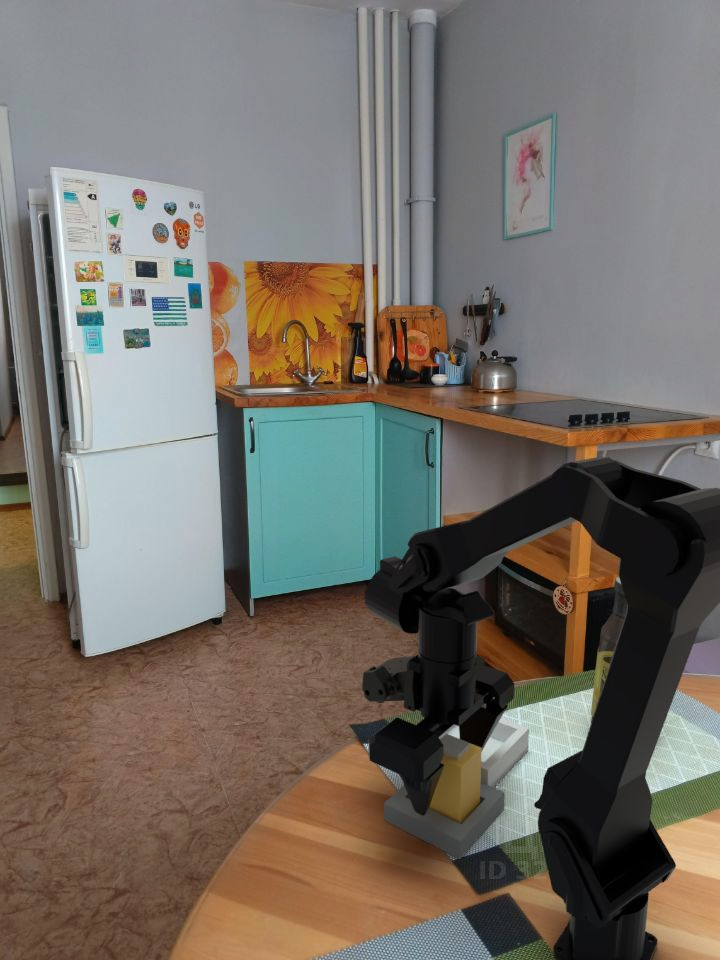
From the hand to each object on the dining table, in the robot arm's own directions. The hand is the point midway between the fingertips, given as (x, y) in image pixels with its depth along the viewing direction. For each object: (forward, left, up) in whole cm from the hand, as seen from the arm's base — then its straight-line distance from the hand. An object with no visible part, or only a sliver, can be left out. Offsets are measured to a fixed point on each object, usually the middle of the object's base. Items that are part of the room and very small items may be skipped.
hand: (445, 789), depth 74 cm
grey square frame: (0, 0, -3) cm, 3 cm away
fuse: (0, 0, -3) cm, 3 cm away
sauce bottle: (+26, -9, -3) cm, 28 cm away
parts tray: (+11, +3, -3) cm, 11 cm away
